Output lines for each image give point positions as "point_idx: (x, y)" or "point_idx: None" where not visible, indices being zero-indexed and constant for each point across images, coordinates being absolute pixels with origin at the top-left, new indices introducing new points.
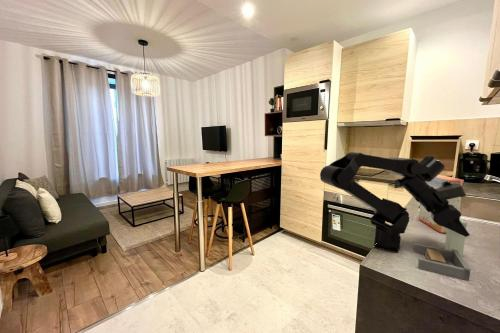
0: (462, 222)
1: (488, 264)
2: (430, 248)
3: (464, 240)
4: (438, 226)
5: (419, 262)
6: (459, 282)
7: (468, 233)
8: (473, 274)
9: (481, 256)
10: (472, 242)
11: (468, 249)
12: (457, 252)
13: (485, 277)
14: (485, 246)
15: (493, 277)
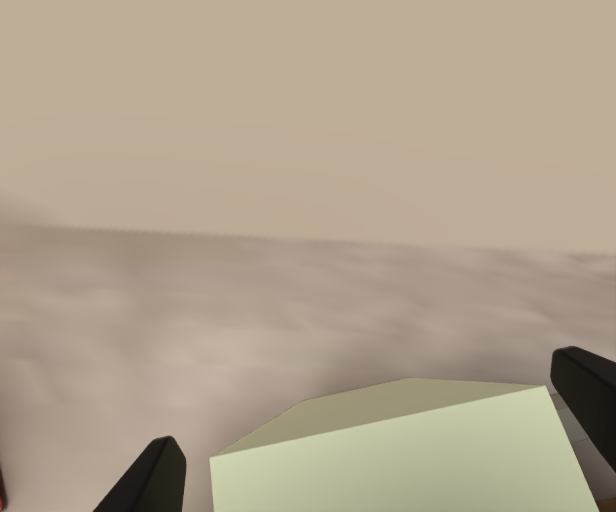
0: (575, 458)
1: (383, 266)
2: None
3: (443, 380)
4: None
5: None
6: None
7: (602, 359)
8: (604, 333)
9: (291, 288)
10: (90, 318)
11: (226, 341)
12: None
13: (582, 286)
14: (118, 265)
15: (543, 257)
